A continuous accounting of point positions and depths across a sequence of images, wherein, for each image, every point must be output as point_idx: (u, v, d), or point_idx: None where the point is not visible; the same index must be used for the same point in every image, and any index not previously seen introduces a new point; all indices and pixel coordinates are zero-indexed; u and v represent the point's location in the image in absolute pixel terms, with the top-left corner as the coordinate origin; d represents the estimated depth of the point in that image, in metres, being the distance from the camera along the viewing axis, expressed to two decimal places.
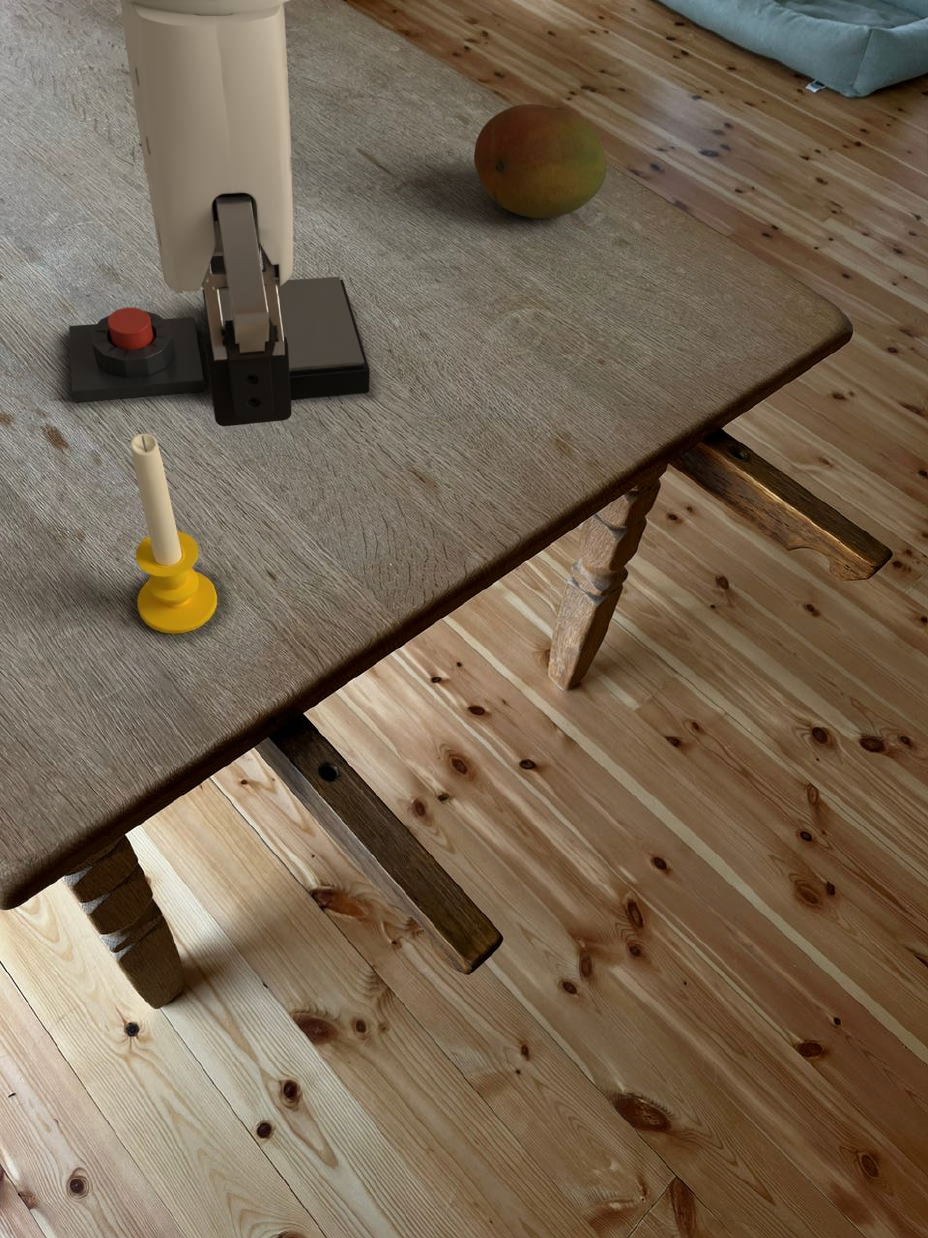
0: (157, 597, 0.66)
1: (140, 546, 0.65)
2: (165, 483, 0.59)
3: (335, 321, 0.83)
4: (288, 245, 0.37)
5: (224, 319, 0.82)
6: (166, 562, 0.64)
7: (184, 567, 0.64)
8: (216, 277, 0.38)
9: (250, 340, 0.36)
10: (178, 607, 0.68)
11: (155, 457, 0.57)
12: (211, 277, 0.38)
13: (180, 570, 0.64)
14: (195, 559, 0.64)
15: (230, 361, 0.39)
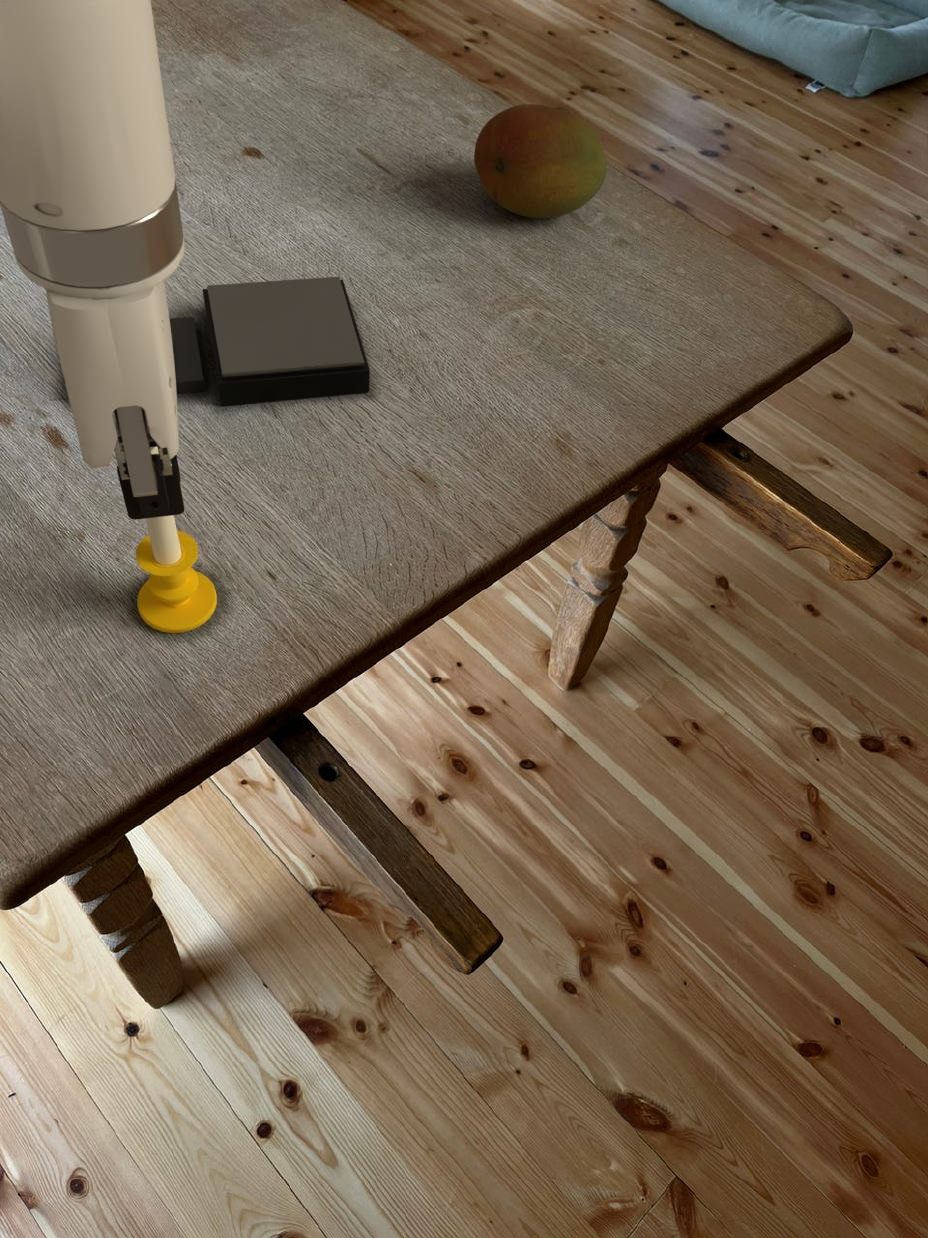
0: (157, 596, 0.66)
1: (140, 545, 0.65)
2: None
3: (335, 321, 0.83)
4: (173, 434, 0.50)
5: (224, 319, 0.82)
6: (166, 562, 0.64)
7: (184, 566, 0.64)
8: (122, 445, 0.53)
9: None
10: (178, 606, 0.68)
11: None
12: (119, 445, 0.53)
13: (180, 569, 0.64)
14: (195, 558, 0.64)
15: None
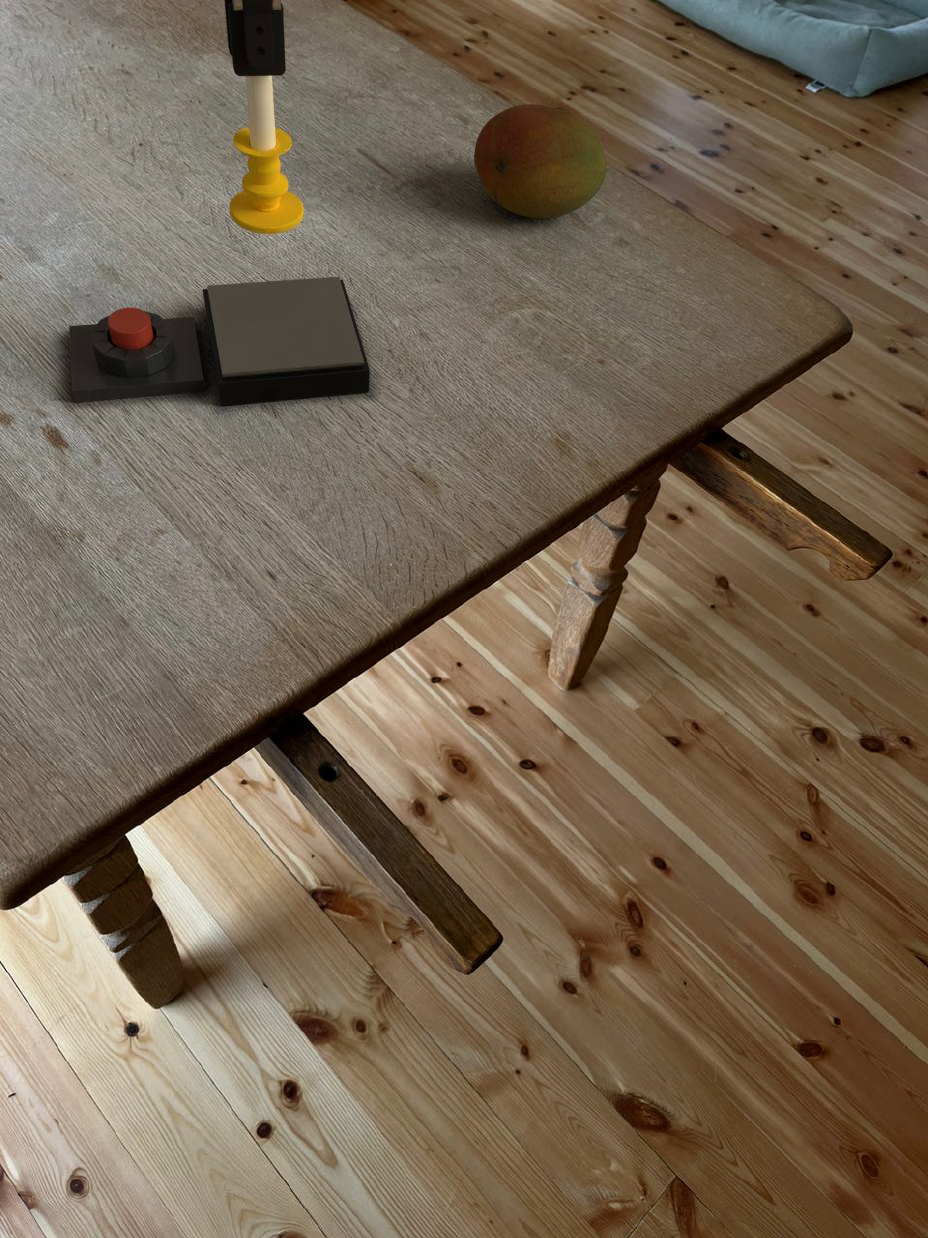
0: (251, 191, 0.69)
1: (236, 135, 0.68)
2: None
3: (335, 321, 0.83)
4: None
5: (224, 319, 0.82)
6: (262, 146, 0.67)
7: (279, 151, 0.67)
8: None
9: None
10: (268, 211, 0.71)
11: None
12: None
13: (276, 153, 0.67)
14: (289, 146, 0.68)
15: (244, 12, 0.59)
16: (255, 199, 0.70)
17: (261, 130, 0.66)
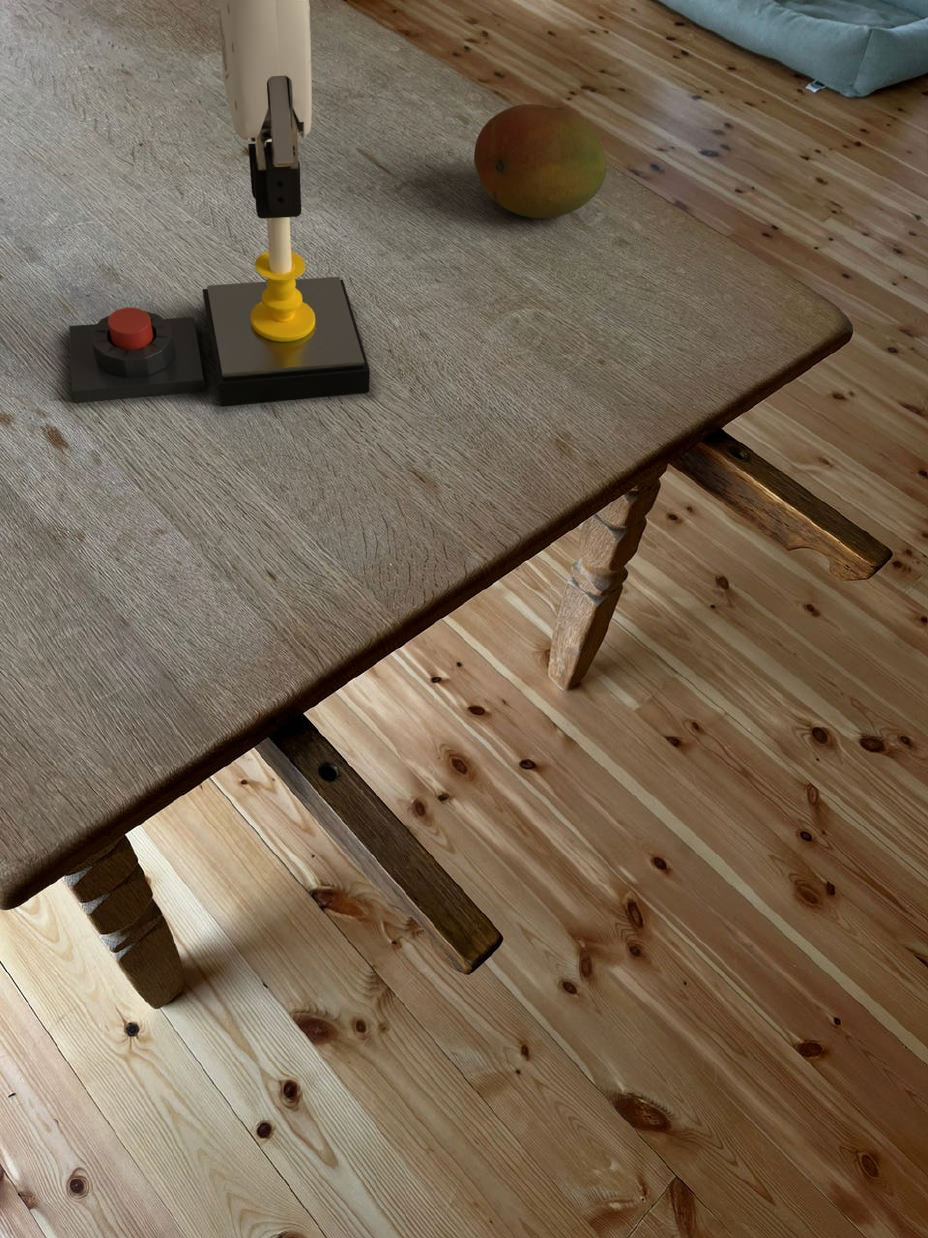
0: (269, 306, 0.80)
1: (258, 259, 0.78)
2: None
3: (335, 321, 0.83)
4: (309, 110, 0.64)
5: (224, 319, 0.82)
6: (280, 270, 0.78)
7: (295, 274, 0.78)
8: (263, 131, 0.67)
9: None
10: (284, 321, 0.81)
11: None
12: (261, 131, 0.67)
13: (292, 276, 0.77)
14: (303, 269, 0.78)
15: (267, 171, 0.70)
16: (273, 311, 0.81)
17: (279, 258, 0.77)
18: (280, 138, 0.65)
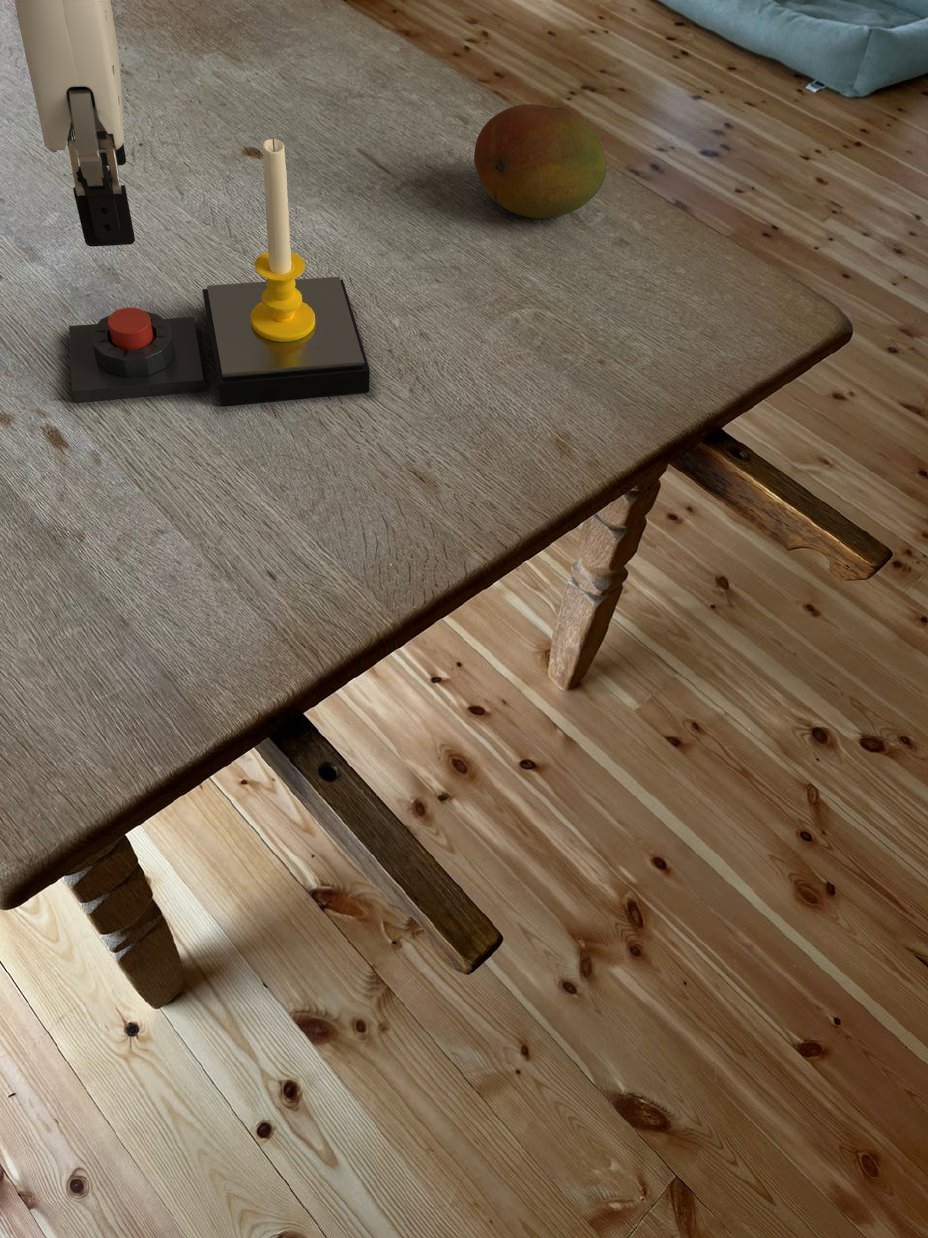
0: (269, 307, 0.80)
1: (257, 259, 0.78)
2: (286, 187, 0.73)
3: (335, 321, 0.83)
4: (117, 121, 0.62)
5: (224, 319, 0.82)
6: (280, 270, 0.78)
7: (294, 274, 0.78)
8: (76, 142, 0.63)
9: (92, 176, 0.61)
10: (284, 321, 0.81)
11: (282, 157, 0.71)
12: (72, 142, 0.63)
13: (291, 276, 0.77)
14: (303, 269, 0.78)
15: (87, 197, 0.64)
16: (273, 312, 0.81)
17: (279, 258, 0.77)
18: (82, 131, 0.59)
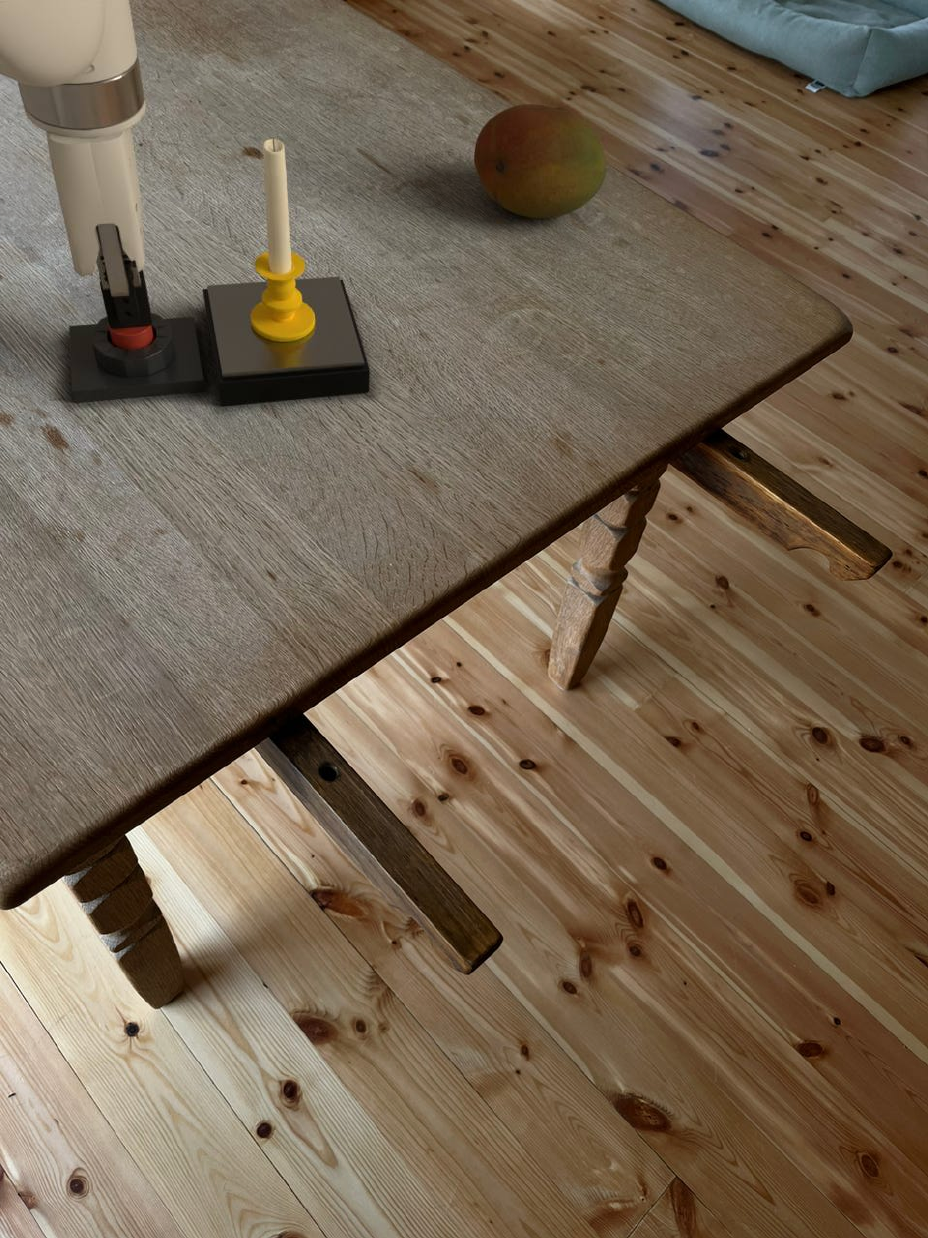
0: (269, 307, 0.80)
1: (257, 259, 0.78)
2: (286, 187, 0.73)
3: (335, 321, 0.83)
4: (139, 250, 0.69)
5: (224, 319, 0.82)
6: (280, 270, 0.78)
7: (294, 274, 0.78)
8: (103, 261, 0.72)
9: None
10: (284, 321, 0.81)
11: (282, 157, 0.71)
12: (101, 261, 0.72)
13: (291, 276, 0.77)
14: (303, 269, 0.78)
15: None
16: (273, 312, 0.81)
17: (279, 258, 0.77)
18: (114, 274, 0.70)
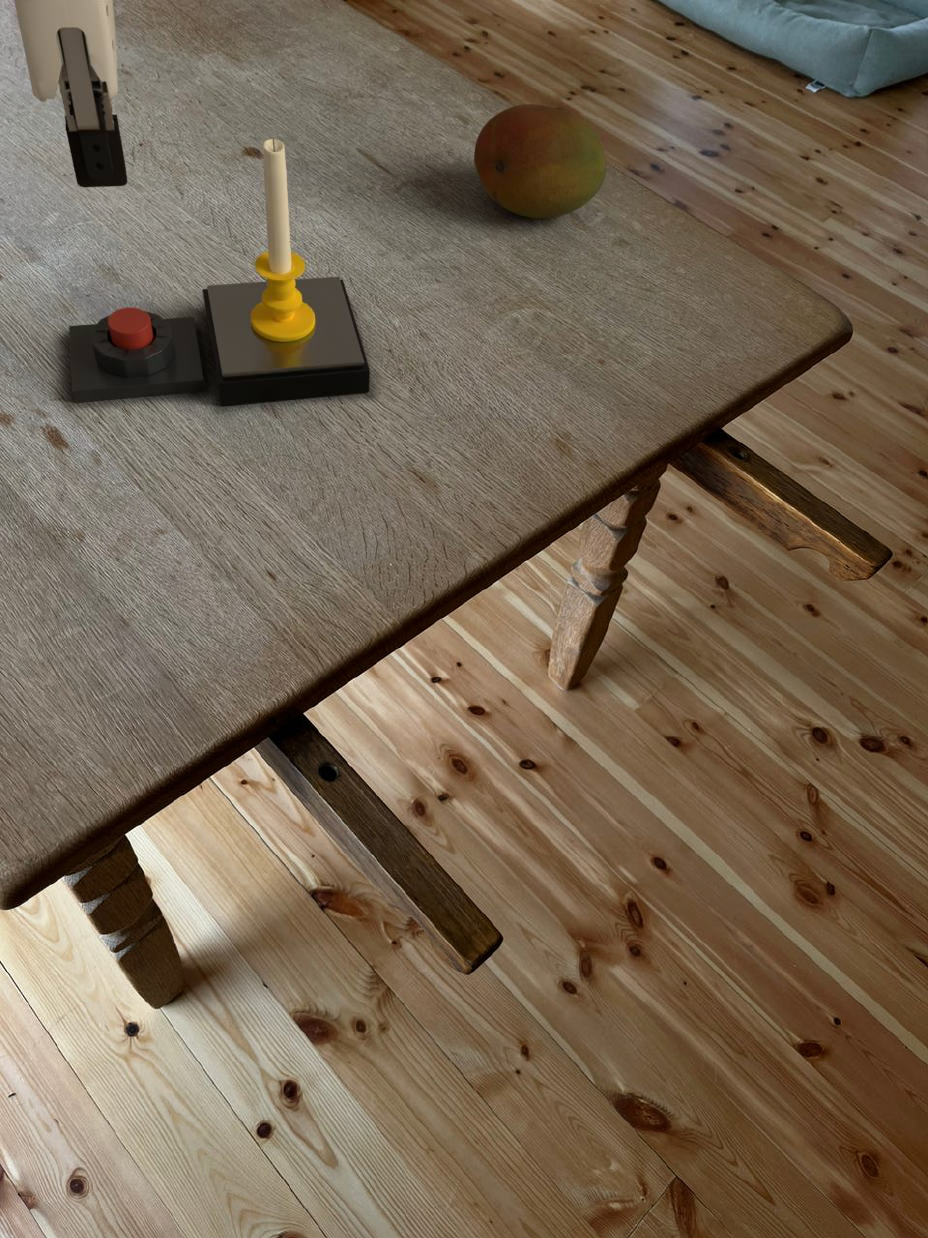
0: (269, 307, 0.80)
1: (257, 259, 0.78)
2: (286, 187, 0.73)
3: (335, 321, 0.83)
4: (111, 68, 0.58)
5: (224, 319, 0.82)
6: (280, 270, 0.78)
7: (294, 274, 0.78)
8: (69, 91, 0.61)
9: None
10: (284, 321, 0.81)
11: (282, 157, 0.71)
12: (66, 91, 0.61)
13: (291, 276, 0.77)
14: (303, 269, 0.78)
15: (80, 133, 0.63)
16: (273, 312, 0.81)
17: (279, 258, 0.77)
18: (80, 99, 0.58)
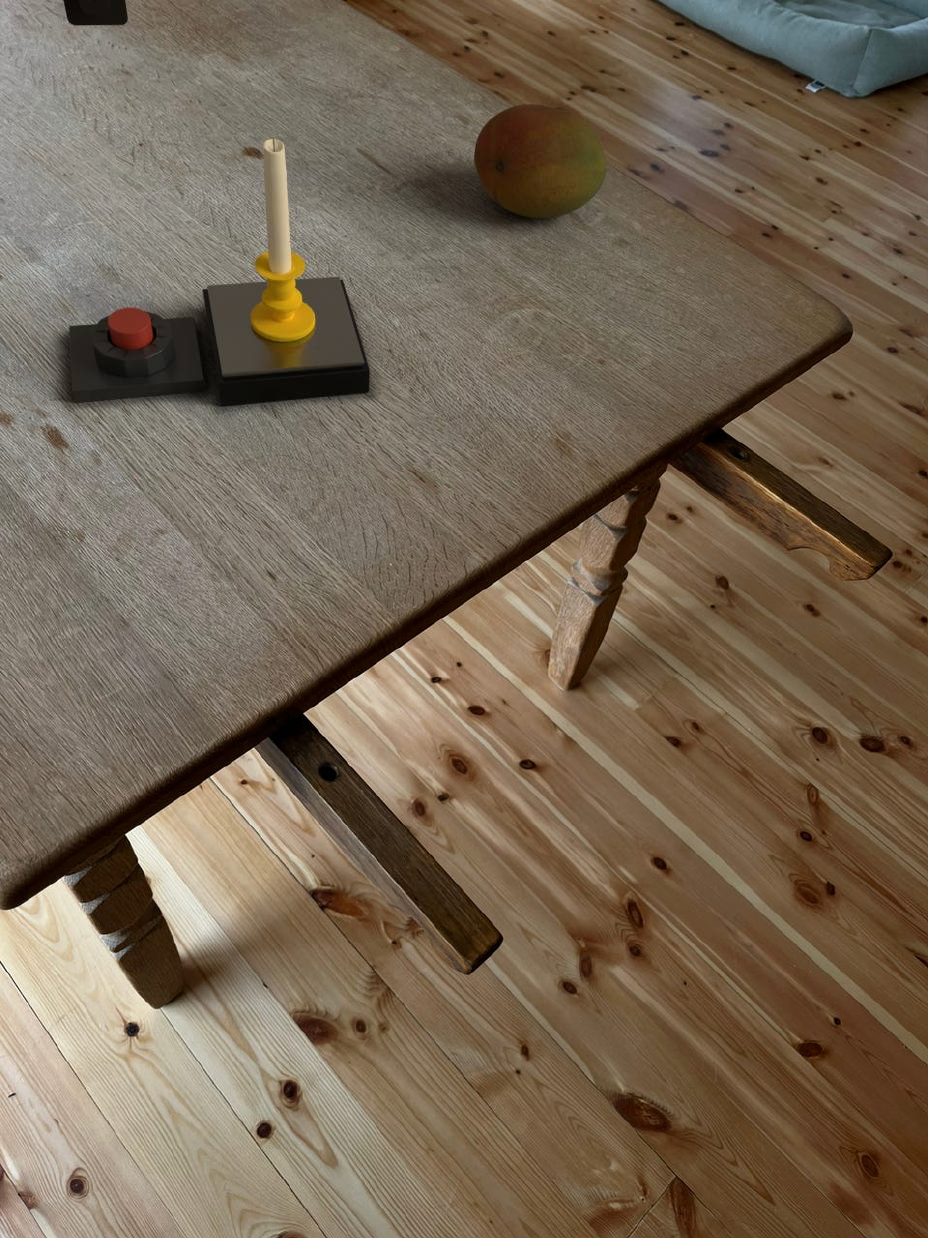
0: (269, 307, 0.80)
1: (257, 259, 0.78)
2: (286, 187, 0.73)
3: (335, 321, 0.83)
4: None
5: (224, 319, 0.82)
6: (280, 270, 0.78)
7: (294, 274, 0.78)
8: None
9: None
10: (284, 321, 0.81)
11: (282, 157, 0.71)
12: None
13: (291, 276, 0.77)
14: (303, 269, 0.78)
15: None
16: (273, 312, 0.81)
17: (279, 258, 0.77)
18: None
